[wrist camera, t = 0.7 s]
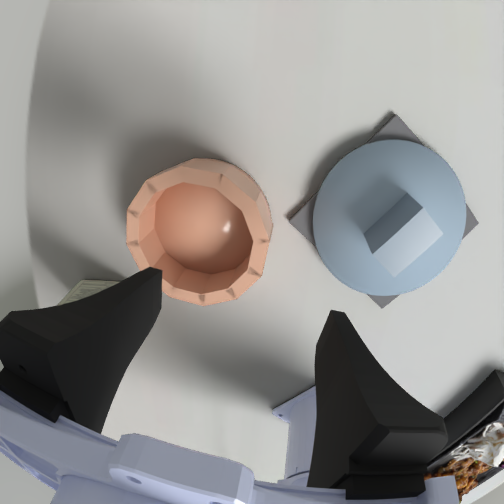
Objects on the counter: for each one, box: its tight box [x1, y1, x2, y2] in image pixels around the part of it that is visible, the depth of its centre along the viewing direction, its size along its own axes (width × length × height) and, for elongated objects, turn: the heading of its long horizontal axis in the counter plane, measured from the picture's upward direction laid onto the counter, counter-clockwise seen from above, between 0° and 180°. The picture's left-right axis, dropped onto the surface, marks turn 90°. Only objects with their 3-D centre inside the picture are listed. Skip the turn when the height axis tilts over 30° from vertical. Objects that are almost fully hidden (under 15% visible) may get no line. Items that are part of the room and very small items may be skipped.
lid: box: [313, 139, 466, 296], centre depth 18 cm, size 11×11×4 cm
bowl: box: [126, 158, 273, 306], centre depth 21 cm, size 9×9×3 cm
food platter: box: [423, 370, 504, 503], centre depth 32 cm, size 45×25×10 cm, turn 159°
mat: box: [289, 115, 478, 308], centre depth 20 cm, size 10×10×1 cm
